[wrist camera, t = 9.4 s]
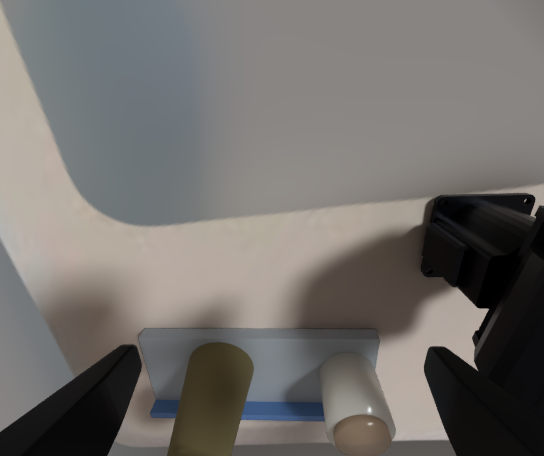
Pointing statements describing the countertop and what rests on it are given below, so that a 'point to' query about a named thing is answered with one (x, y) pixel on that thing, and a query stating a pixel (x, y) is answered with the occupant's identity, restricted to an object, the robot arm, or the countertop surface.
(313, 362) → the shelf
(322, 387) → the ceramic jar
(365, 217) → the countertop surface
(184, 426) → the olive waisted cylinder
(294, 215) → the countertop surface
